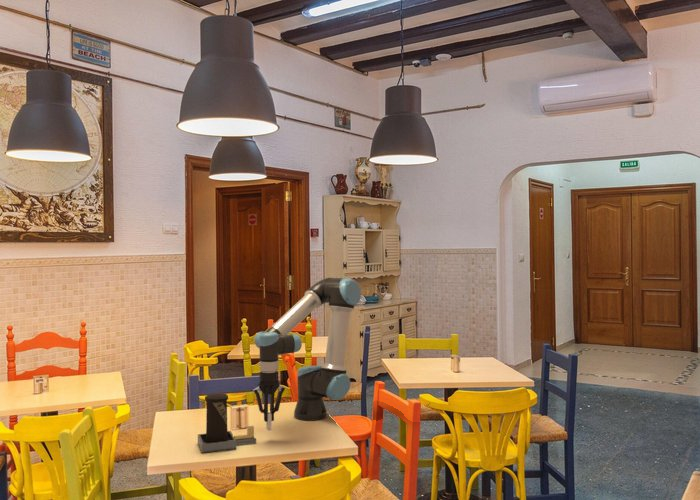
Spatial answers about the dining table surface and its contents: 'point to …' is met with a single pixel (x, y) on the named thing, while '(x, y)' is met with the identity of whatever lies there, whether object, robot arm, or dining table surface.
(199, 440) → the dock cradle
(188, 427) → the dining table surface
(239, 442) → the pin rail
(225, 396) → the container
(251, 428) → the tan block
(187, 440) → the dining table surface
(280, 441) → the dining table surface
